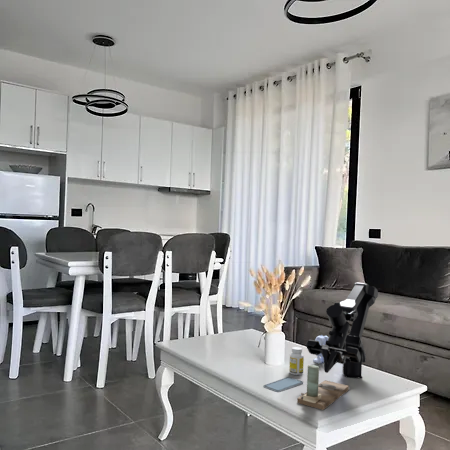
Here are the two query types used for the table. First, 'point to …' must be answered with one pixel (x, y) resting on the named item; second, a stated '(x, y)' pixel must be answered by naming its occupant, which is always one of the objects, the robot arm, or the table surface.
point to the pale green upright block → (312, 385)
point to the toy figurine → (322, 342)
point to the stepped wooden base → (326, 394)
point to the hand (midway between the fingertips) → (325, 372)
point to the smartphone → (283, 384)
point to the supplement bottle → (296, 361)
